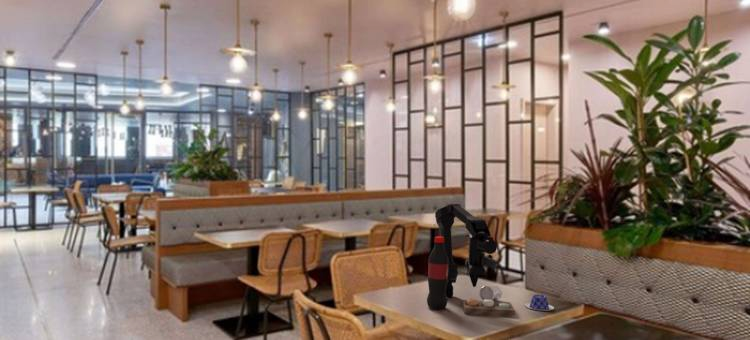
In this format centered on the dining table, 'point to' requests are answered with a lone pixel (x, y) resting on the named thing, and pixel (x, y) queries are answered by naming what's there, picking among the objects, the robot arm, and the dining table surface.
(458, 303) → the dining table surface
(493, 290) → the beer glass
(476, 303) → the brown rounded piece
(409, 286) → the dining table surface
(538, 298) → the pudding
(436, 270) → the cola bottle
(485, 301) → the cream button
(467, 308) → the button panel
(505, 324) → the dining table surface
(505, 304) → the green button
